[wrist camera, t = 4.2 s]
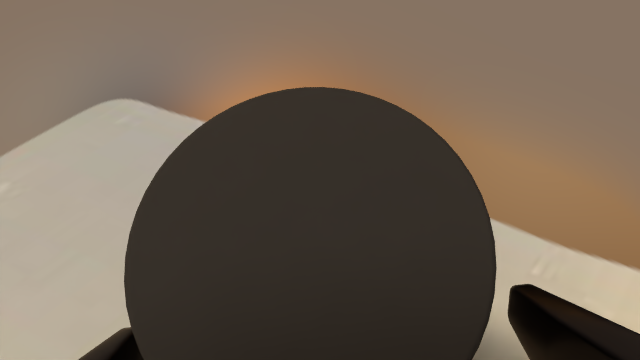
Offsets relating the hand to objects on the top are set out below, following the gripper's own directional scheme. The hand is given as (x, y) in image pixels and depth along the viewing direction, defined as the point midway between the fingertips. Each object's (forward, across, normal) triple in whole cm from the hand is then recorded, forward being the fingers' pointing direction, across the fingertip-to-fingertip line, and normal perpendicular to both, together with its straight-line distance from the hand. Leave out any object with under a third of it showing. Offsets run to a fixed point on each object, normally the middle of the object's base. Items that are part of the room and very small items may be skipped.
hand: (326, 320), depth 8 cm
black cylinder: (+7, 0, +5) cm, 9 cm away
